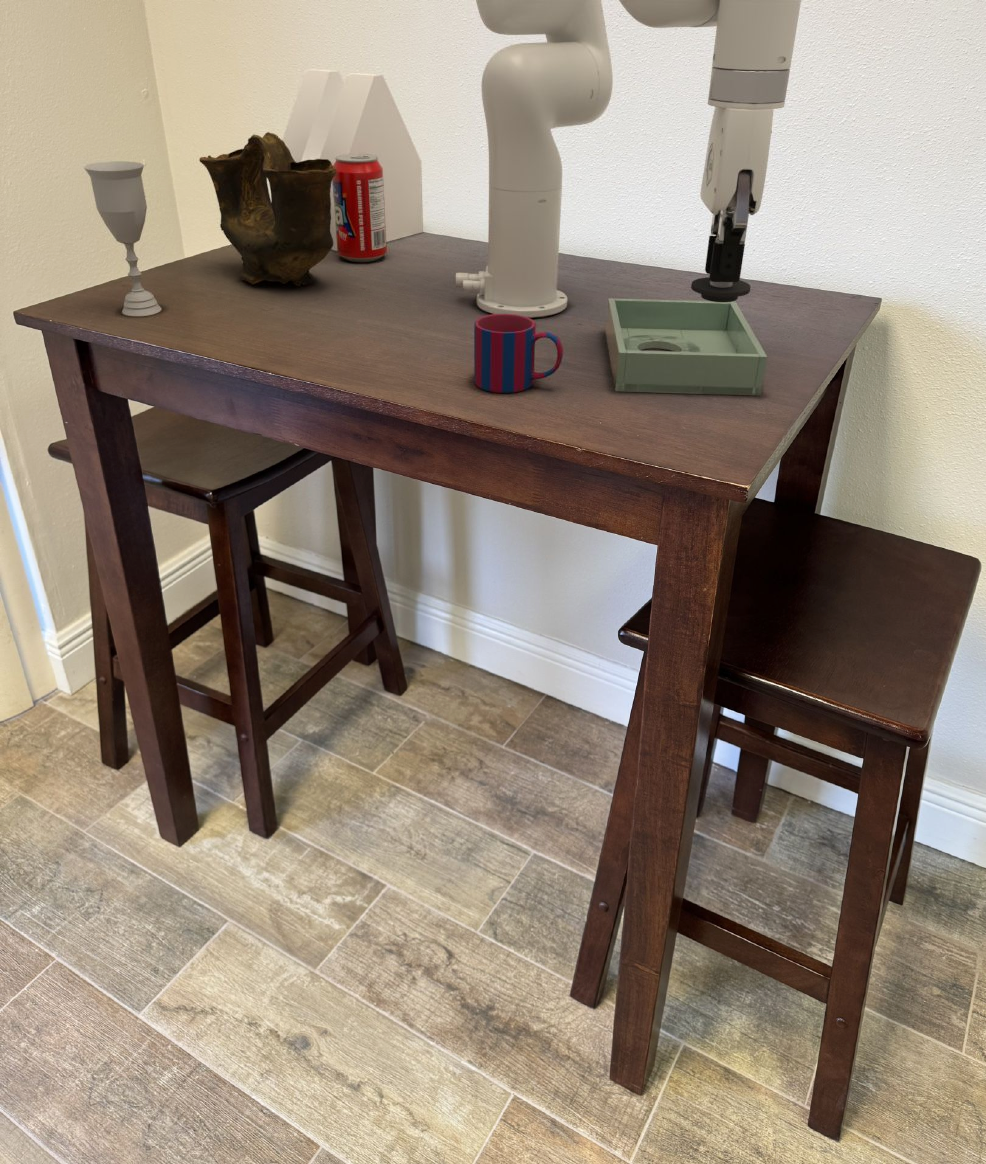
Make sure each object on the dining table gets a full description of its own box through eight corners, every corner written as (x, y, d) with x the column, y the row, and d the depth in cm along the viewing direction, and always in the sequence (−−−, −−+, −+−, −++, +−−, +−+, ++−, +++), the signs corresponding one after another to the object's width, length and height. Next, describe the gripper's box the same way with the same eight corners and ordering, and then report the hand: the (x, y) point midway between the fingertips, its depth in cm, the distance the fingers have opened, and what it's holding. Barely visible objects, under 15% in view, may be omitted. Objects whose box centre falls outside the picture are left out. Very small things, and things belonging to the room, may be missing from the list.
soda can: (384, 264, 147) (379, 161, 139) (334, 263, 147) (326, 160, 139) (389, 252, 154) (385, 152, 146) (341, 251, 154) (334, 151, 146)
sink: (615, 391, 104) (618, 352, 102) (605, 333, 121) (608, 298, 118) (760, 395, 104) (767, 356, 101) (730, 336, 120) (735, 301, 118)
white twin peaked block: (359, 219, 173) (350, 65, 160) (423, 231, 166) (419, 71, 152) (281, 238, 160) (264, 72, 147) (346, 253, 153) (334, 79, 139)
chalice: (180, 307, 127) (156, 164, 118) (145, 321, 122) (116, 172, 112) (138, 299, 130) (111, 159, 120) (102, 313, 125) (70, 167, 115)
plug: (694, 305, 102) (701, 245, 98) (686, 288, 107) (693, 231, 104) (753, 306, 102) (762, 246, 98) (743, 289, 107) (751, 232, 103)
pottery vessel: (362, 291, 135) (353, 140, 124) (300, 306, 129) (284, 148, 118) (263, 257, 150) (247, 120, 139) (202, 270, 143) (181, 126, 132)
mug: (491, 367, 110) (492, 309, 106) (569, 383, 106) (573, 324, 102) (463, 386, 105) (463, 326, 101) (544, 403, 101) (547, 341, 97)
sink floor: (615, 391, 104) (616, 382, 104) (605, 333, 121) (606, 325, 120) (760, 395, 104) (761, 387, 103) (730, 336, 120) (731, 328, 120)
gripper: (698, 81, 100) (678, 258, 110) (722, 97, 87) (697, 297, 97) (769, 82, 100) (742, 259, 110) (804, 98, 86) (771, 299, 96)
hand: (721, 275), depth 103 cm, fingers closed on plug, 2 cm apart
